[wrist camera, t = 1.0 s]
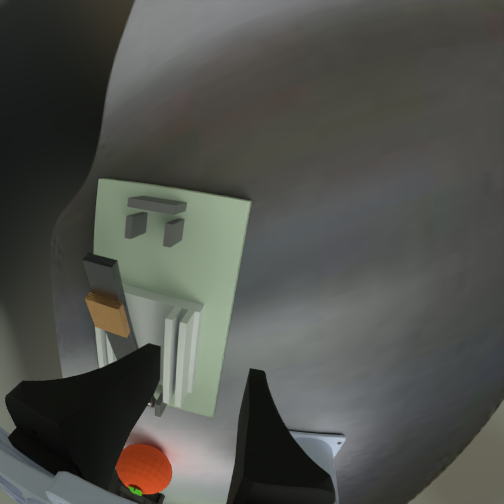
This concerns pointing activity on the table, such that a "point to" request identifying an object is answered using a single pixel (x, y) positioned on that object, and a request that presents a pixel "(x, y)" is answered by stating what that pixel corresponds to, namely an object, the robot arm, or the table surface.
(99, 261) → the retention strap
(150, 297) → the heatsink board
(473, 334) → the table surface
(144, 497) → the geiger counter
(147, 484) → the clementine
